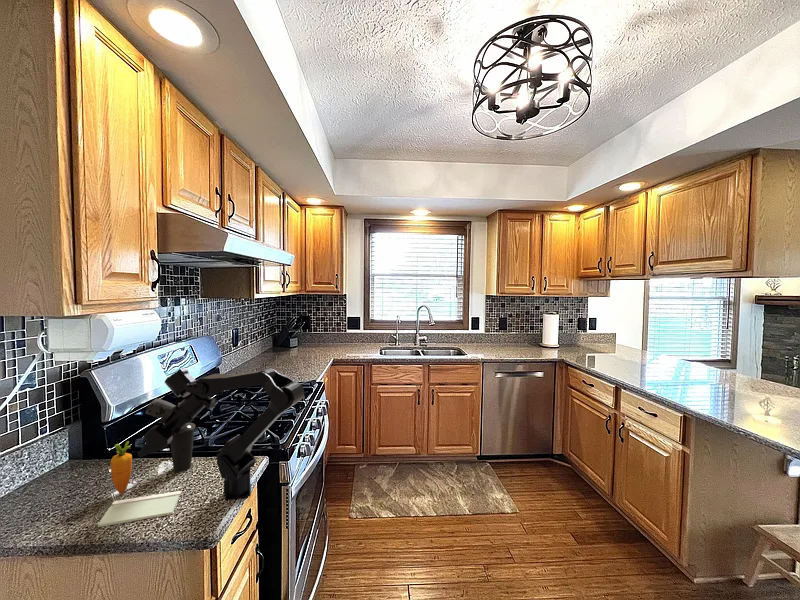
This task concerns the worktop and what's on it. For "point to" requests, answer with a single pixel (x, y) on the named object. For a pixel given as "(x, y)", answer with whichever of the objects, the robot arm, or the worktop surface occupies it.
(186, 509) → the worktop surface
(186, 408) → the robot arm
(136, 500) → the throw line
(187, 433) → the drinking cup
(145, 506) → the mat
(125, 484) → the carrot
